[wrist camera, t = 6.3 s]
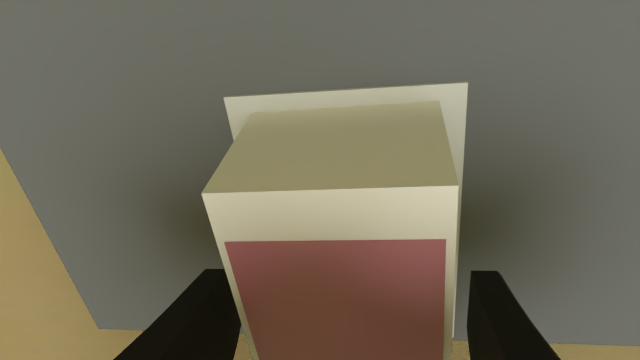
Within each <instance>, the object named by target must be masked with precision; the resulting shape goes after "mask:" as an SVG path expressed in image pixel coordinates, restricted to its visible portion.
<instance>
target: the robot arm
mask: <svg viewBox="0 0 640 360" xmlns="http://www.w3.org/2000/svg"><path fill="white" fill-rule="evenodd" d="M240 328H241V320H240V317H239V314H238V310H237V307H236V304H235V301H234V298H233V294H232V291H231V288H230V285H229V281H228V278H227V275H226V272H225V269H205V270H204V271H203V272H202V273H201V274H200V275H199V276H198V277H197V278H196V279H195V280H194V281H193V282H192V283H191V284H190V285H189V286H188V287H187V288H186V289H185V290H184V291H183V292H182V294H181V295H180V296H179V297H178V298H177V299H176V300H175V301H174V302H173V303H172V304H171V305H170V306H169V307H168V308H167V309H166V310H165V311H164V312H163V313H162V314H161V315H160V316H159V317H158V318H157V319H156V320H155V321H154V322H153V323H152V324H151V325H150V326H149V327H148V328H147V329H146V330H145V331H144V332H143V333H142V334H141V335H140V336H139V337H137V338H136V339H135V340H134V341H133V342H132V343H131V344H130V345H129V346H128V347H127V348H126V349H125V350H123V351H122V352H121V353H120V354H119V355H118V356H117V357H116V358H115V359H113V360H233V358H234V355H235V350H236V346H237V342H238V338H239V333H240ZM467 335H468V343H469V351H470V359H471V360H561V359H560V358H559V357H558V356H557V354H556V353H555V352H554V351H553V349H552V348H551V347H550V345H549V344H548V343H547V341H546V340H545V339H544V337H543V336H542V335H541V333H540V332H539V331H538V330H537V328H536V327H535V326H534V324H533V323H532V321H531V320H530V319H529V317H528V316H527V314H526V313H525V311H524V310H523V308H522V307H521V305H520V304H519V303H518V301H517V299H516V298H515V296H514V295H513V293H512V292H511V290H510V289H509V287H508V285H507V284H506V282H505V280H504V279H503V277H502V275H501V274H500V273H499V272H498V271H472V270H471V276H470V289H469V302H468V314H467Z"/></svg>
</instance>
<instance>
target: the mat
mask: <svg viewBox="0 0 640 360" xmlns="http://www.w3.org/2000/svg"><path fill="white" fill-rule="evenodd" d="M427 101H440V106H441V110H442V115H443V119H444V123H445V128H446V132H447V137H448V141H449V145H450V150H451V154H452V158H453V163H454V167H455V172H456V176H457V180H458V185H459V189H458V213H457V236H456V260H455V284H454V308H453V332H452V340H464V341H468V335H467V314H468V302H469V289H470V276H471V270H472V271H498V272H499V273H500V274H501V275H502V277H503V279H504V280H505V282H506V284H507V285H508V287H509V289H510V290H511V292H512V293H513V295H514V296H515V298H516V299H517V301H518V303H519V304H520V305H521V307H522V308H523V310H524V311H525V313H526V314H527V316H528V317H529V319H530V320H531V321H532V323H533V324H534V326H535V327H536V328H537V330H538V331H539V332H540V333H541V335H542V336H543V337H544V339H545V340H546V341H547V343H557V344H588V345H619V346H640V0H0V148H1V150H2V152H3V154H4V155H5V157H6V159H7V161H8V163H9V165H10V166H11V168H12V170H13V172H14V174H15V176H16V177H17V179H18V181H19V183H20V185H21V187H22V189H23V190H24V192H25V194H26V196H27V198H28V200H29V201H30V203H31V205H32V207H33V209H34V211H35V213H36V214H37V216H38V218H39V220H40V222H41V224H42V225H43V227H44V229H45V231H46V233H47V235H48V236H49V238H50V240H51V242H52V244H53V246H54V248H55V249H56V251H57V253H58V255H59V257H60V259H61V260H62V262H63V264H64V266H65V268H66V270H67V272H68V273H69V275H70V277H71V279H72V281H73V283H74V284H75V286H76V288H77V290H78V292H79V294H80V295H81V297H82V299H83V301H84V303H85V305H86V307H87V308H88V310H89V312H90V314H91V316H92V318H93V319H94V321H95V323H96V325H97V327H98V329H124V330H146V329H147V328H148V327H149V326H150V325H151V324H152V323H153V322H154V321H155V320H156V319H157V318H158V317H159V316H160V315H161V314H162V313H163V312H164V311H165V310H166V309H167V308H168V307H169V306H170V305H171V304H172V303H173V302H174V301H175V300H176V299H177V298H178V297H179V296H180V295H181V294H182V292H183V291H184V290H185V289H186V288H187V287H188V286H189V285H190V284H191V283H192V282H193V281H194V280H195V279H196V278H197V277H198V276H199V275H200V274H201V273H202V272H203V271H204V270H205V269H224V265H223V262H222V259H221V256H220V252H219V249H218V246H217V243H216V240H215V236H214V233H213V230H212V227H211V223H210V220H209V217H208V214H207V211H206V207H205V204H204V201H203V198H202V194H201V193H202V191H203V190H204V188H205V187H206V185H207V183H208V182H209V180H210V179H211V177H212V176H213V174H214V172H215V171H216V169H217V168H218V166H219V164H220V163H221V161H222V160H223V158H224V156H225V155H226V153H227V152H228V150H229V148H230V147H231V145H232V144H233V142H234V140H235V139H236V137H237V136H238V134H239V133H240V131H241V129H242V128H243V126H244V125H245V123H246V121H247V120H248V118H249V117H250V115H251V113H253V112H268V111H284V110H300V109H316V108H332V107H347V106H363V105H379V104H395V103H411V102H427ZM240 333H244V330H243V327H242V323H241V328H240Z"/></svg>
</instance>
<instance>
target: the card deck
mask: <svg viewBox="0 0 640 360" xmlns="http://www.w3.org/2000/svg"><path fill="white" fill-rule="evenodd" d="M458 189H459V185H458V180H457V176H456V172H455V167H454V163H453V158H452V154H451V150H450V145H449V141H448V137H447V132H446V128H445V123H444V119H443V115H442V110H441V106H440V101H427V102H411V103H395V104H379V105H363V106H347V107H332V108H316V109H300V110H284V111H268V112H253V113H251V115H250V117H249V118H248V120H247V121H246V123H245V125H244V126H243V128H242V129H241V131H240V133H239V134H238V136H237V137H236V139H235V140H234V142H233V144H232V145H231V147H230V148H229V150H228V152H227V153H226V155H225V156H224V158H223V160H222V161H221V163H220V164H219V166H218V168H217V169H216V171H215V172H214V174H213V176H212V177H211V179H210V180H209V182H208V183H207V185H206V187H205V188H204V190H203V191H202V193H201V194H202V198H203V201H204V204H205V207H206V211H207V214H208V217H209V220H210V223H211V227H212V230H213V233H214V236H215V240H216V243H217V246H218V249H219V252H220V256H221V259H222V262H223V265H224V269H225V272H226V275H227V278H228V281H229V285H230V288H231V291H232V294H233V298H234V301H235V304H236V307H237V310H238V314H239V317H240V320H241V323H242V327H243V330H244V333H245V336H246V339H247V343H248V346H249V349H250V352H251V356H252V359H253V360H451V356H452V332H453V308H454V284H455V260H456V236H457V213H458Z"/></svg>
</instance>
